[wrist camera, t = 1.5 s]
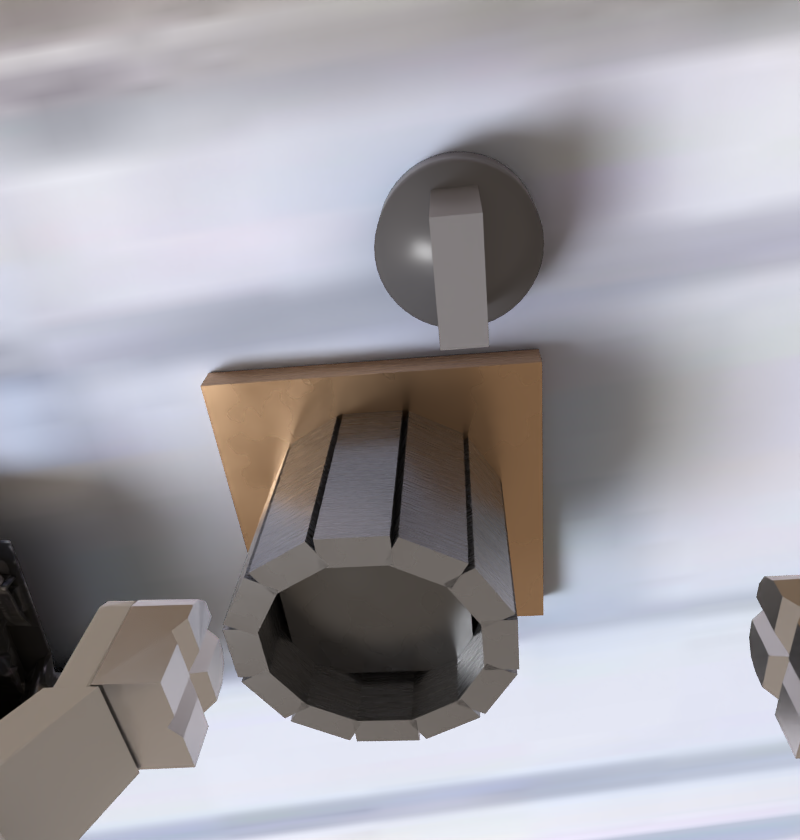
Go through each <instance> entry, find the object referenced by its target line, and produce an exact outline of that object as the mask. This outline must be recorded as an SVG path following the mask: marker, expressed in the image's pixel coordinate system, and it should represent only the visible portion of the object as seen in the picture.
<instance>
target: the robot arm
mask: <svg viewBox="0 0 800 840" xmlns="http://www.w3.org/2000/svg"><path fill="white" fill-rule="evenodd" d="M757 599H758V601H759V603H760V605H761V607H762V609H763V611H761V612H760V613H759V614H758V615H757V616H756V617H755V618H754V619H752V622H751V629H750V636H749V640H750V650H751V658H752V661H753V665H754V668H755V672H756V674H757V676H758V678H759V681H760V683H761V685H762V687H763V688H764V689H766V690H767V691H768V692H770V693H771V694H772V695H774V696H775V697H776V698H778V699H779V700H778V704H777V709H776V713H775V716H776V718H777V720H778V722H779V724H780V726H781V729H782V731H783V733H784V735H785V737H786V739H787V741H788V743H789V746H790V748H791V750H792V752H793V754H794V756H795V758H800V575H784V576H764V578H763V579H762V581H761V582H760V583H759V587H758V592H757ZM211 618H212V616H211V613H210V611H209V608H208V606H207V603H206V601H203V600H201V599H171V600H138V601H107V602H106V603H105V604H103V605H102V606H100V607H99V609H98V610H97V612H96V614H95V615H94V617H93V619H92V621H91V622H90V624H89V626H88V628H87V629H86V631H85V633H84V635H83V636H82V638H81V640H80V642H79V643H78V645H77V647H76V648H75V650H74V652H73V654H72V655H71V657H70V659H69V661H68V662H67V664H66V666H65V668H64V669H63V671H62V673H61V675H60V676H59V678H58V680H57V682H56V683H55V685H54V687H52V688H43V689H41V690H40V691H39V692H37V693H36V694H35V695H33V696H32V697H31V698H29V699H28V700H27V701H25V702H24V703H23V704H21V705H20V706H18V707H17V708H16V709H14V710H13V711H12V712H10V713H9V714H8V715H6V716H5V717H4V718H2V719H1V720H0V840H79V839H80V838H81V837H82V836H83V834H84V833H85V832H86V831H87V830H88V829H89V828H90V827H91V826H92V825H93V823H94V822H95V821H96V820H97V819H98V818H99V817H100V816H101V815H102V813H103V812H104V811H105V810H106V809H107V808H108V807H109V806H110V805H111V804H112V802H113V801H114V800H115V799H116V798H117V797H118V796H119V795H120V794H121V793H122V791H123V790H124V789H125V788H126V787H127V786H128V785H129V784H130V783H131V782H132V780H133V779H134V778H135V777H136V776H137V775H138V774H139V771H138V770H140V769H163V768H185V767H195V766H196V763H197V760H198V757H199V754H200V751H201V748H202V745H203V742H204V739H205V736H206V733H207V730H208V727H209V726H208V723H207V721H206V718H205V715H204V712H205V711H206V710H207V709H208V708H209V707H210V706H211V705H213V704H214V703H215V702H216V701H217V699H218V696H219V692H220V689H221V686H222V680H223V670H224V659H223V650H222V646H221V643H220V640H219V638H218V637H217V636H216V635H215V634H213V633H212V632H211V631H209V630H208V626H209V623H210V621H211Z"/></svg>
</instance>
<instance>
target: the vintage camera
mask: <svg viewBox="0 0 800 840" xmlns="http://www.w3.org/2000/svg"><path fill="white" fill-rule="evenodd" d="M60 675H61V672H55V671H54V666H53V659H52V654H51V651H50V648H49V645H48V642H47V639H46V637H45V634H44V631H43V628H42V626H41V623H40V620H39V617H38V615H37V612H36V610H35V607H34V604H33V601H32V598H31V595H30V593H29V590H28V587H27V584H26V582H25V579H24V576H23V573H22V571H21V568H20V565H19V563H18V560H17V557H16V554H15V552H14V549H13V546H12V543H11V541H10V540H0V720H1V719H2V718H4V717H5V716H6V715H8V714H9V713H10V712H12V711H13V710H14V709H16V708H17V707H18V706H20V705H21V704H23V703H24V702H25V701H27V700H28V699H29V698H31V697H32V696H33V695H35V694H36V693H37V692H39V691H40V690H41V689H43V688H52V687H54V685H55V683H56V682H57V680H58V678H59V676H60Z"/></svg>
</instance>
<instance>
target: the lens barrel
mask: <svg viewBox="0 0 800 840" xmlns="http://www.w3.org/2000/svg"><path fill="white" fill-rule="evenodd" d="M201 389H202V393H203V396H204V400H205V403H206V407H207V410H208V414H209V418H210V421H211V425H212V428H213V432H214V435H215V439H216V442H217V446H218V449H219V453H220V456H221V460H222V463H223V467H224V471H225V474H226V478H227V481H228V485H229V488H230V492H231V495H232V499H233V502H234V506H235V509H236V513H237V517H238V520H239V524H240V527H241V531H242V534H243V538H244V541H245V545H246V548H247V552H248V554H247V557H246V560H245V563H244V566H243V569H242V571H241V574H240V577H239V580H238V583H237V586H236V589H235V591H234V594H233V597H232V600H231V603H230V606H229V609H228V611H227V614H226V617H225V620H224V623H223V625H224V628H223V633H224V636H225V639H226V642H227V645H228V648H229V651H230V654H231V657H232V660H233V663H234V666H235V669H236V672H237V675H238V677H243V679H242V683H244V684H245V685H246V686H247V687H248V688H250V689H251V690H252V691H253V692H254V693H256V694H257V695H258V696H259V697H260V698H262V699H263V700H264V701H265V702H266V703H268V704H269V705H270V706H271V707H272V708H273V709H275V710H276V711H277V712H278V713H279V714H281V715H282V716H283V717H284V718H286V717H288V716H291V715H292V719H291V721H292V722H295V723H298V724H301V725H304V726H307V727H310V728H313V729H316V730H320V731H323V732H326V733H329V734H332V735H335V736H338V737H341V738H344V739H348V740H350V739H351V738H352V736H353V735H354V733H355V734H356V739H357V741H402V740H420V733H421V734H422V735H423V736H424V737H425V738H426V739H427V738H430V737H432V736H435V735H437V734H440V733H442V732H445V731H447V730H450V729H452V728H455V727H457V726H460V725H462V724H465V723H467V722H470V721H472V720H475V719H477V718H480V712H482V713H486V712H487V711H488V710H489V709H490V707H491V706H492V705H493V704H494V702H495V701H496V700H497V699H498V698H499V696H500V695H501V694H502V693H503V691H504V690H505V689H506V688H507V686H508V685H509V684H510V683H511V682H512V680H513V679H514V678H515V677H516V675H517V669H519V648H518V619H517V616H534V615H543V454H542V360H541V356H540V352H539V349H532V350H518V351H504V352H490V353H476V354H463V355H449V356H435V357H421V358H407V359H393V360H380V361H366V362H352V363H338V364H324V365H311V366H297V367H283V368H269V369H255V370H242V371H228V372H214V373H208V375H207V377H206V378H205V380H204V381H203V383H202V385H201Z"/></svg>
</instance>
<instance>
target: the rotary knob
mask: <svg viewBox="0 0 800 840" xmlns="http://www.w3.org/2000/svg"><path fill="white" fill-rule="evenodd" d="M543 247H544V240H543V230H542V225H541V221H540V218H539V215H538V213H537V210H536V208H535V205H534V203H533V201H532V198H531V196H530V194H529V192H528V191H527V189H526V187H525V186H524V184H523V183H522V182H521V180H520V179H519V178H518V177H517V176H516V175H515V174H514V173H513V172H512V171H511V170H510V169H509V168H507V167H506V166H505V165H503V164H502V163H500V162H498V161H496V160H495V159H492V158H490V157H487V156H485V155H481V154H477V153H471V152H449V153H443V154H439V155H436V156H433V157H430V158H428V159H426V160H423V161H421V162H420V163H418V164H416V165H415V166H413V167H412V168H411V169H409V170H408V171H407V172H406V173H405V174H403V175H402V177H401V178H400V179H399V180H398V181H397V182H396V183H395V185H394V186H393V188H392V189H391V191H390V192H389V194H388V196H387V198H386V200H385V202H384V205H383V208H382V211H381V214H380V218H379V222H378V225H377V230H376V235H375V245H374V250H375V261H376V266H377V270H378V273H379V276H380V279H381V281H382V283H383V285H384V287H385V288H386V290H387V291H388V293H389V294H390V296H391V297H392V298H393V299H394V301H395V302H396V303H397V304H398V305H399V306H400V307H401V308H403V309H404V310H405V311H406V312H408V313H409V314H411V315H412V316H413V317H415V318H417V319H419V320H421V321H423V322H426V323H429V324H431V325H435V326H438V328H439V339H440V351H441V350H455V349H468V348H481V347H489V334H488V322H490V321H493V320H495V319H497V318H499V317H501V316H502V315H504V314H505V313H507V312H508V311H510V310H511V309H512V308H513V307H515V306H516V305H517V304H518V303H519V302H520V301H521V300H522V299H523V297H524V296H525V295H526V294H527V292H528V291H529V289H530V288H531V286H532V285H533V283H534V281H535V279H536V277H537V275H538V272H539V269H540V266H541V262H542V257H543Z"/></svg>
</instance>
